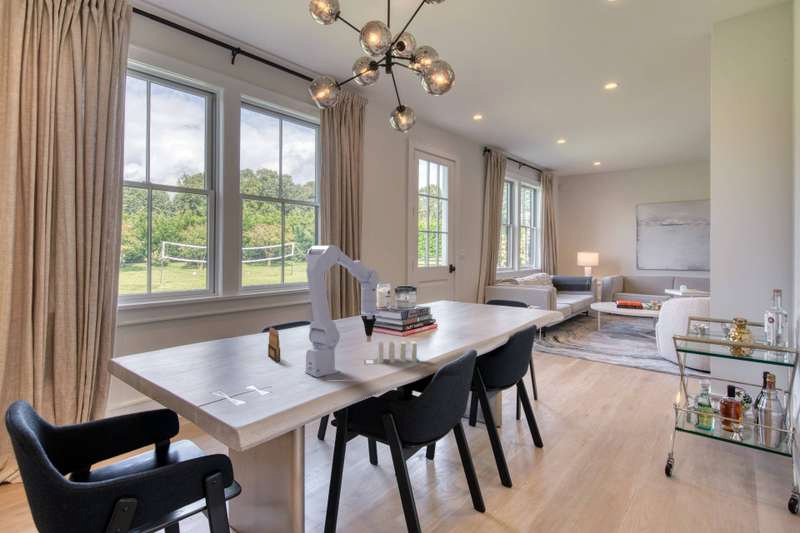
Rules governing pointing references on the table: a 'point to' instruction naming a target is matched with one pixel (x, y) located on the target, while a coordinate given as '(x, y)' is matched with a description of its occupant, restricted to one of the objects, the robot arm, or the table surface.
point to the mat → (386, 361)
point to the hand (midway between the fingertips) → (368, 334)
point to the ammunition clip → (274, 345)
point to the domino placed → (368, 338)
